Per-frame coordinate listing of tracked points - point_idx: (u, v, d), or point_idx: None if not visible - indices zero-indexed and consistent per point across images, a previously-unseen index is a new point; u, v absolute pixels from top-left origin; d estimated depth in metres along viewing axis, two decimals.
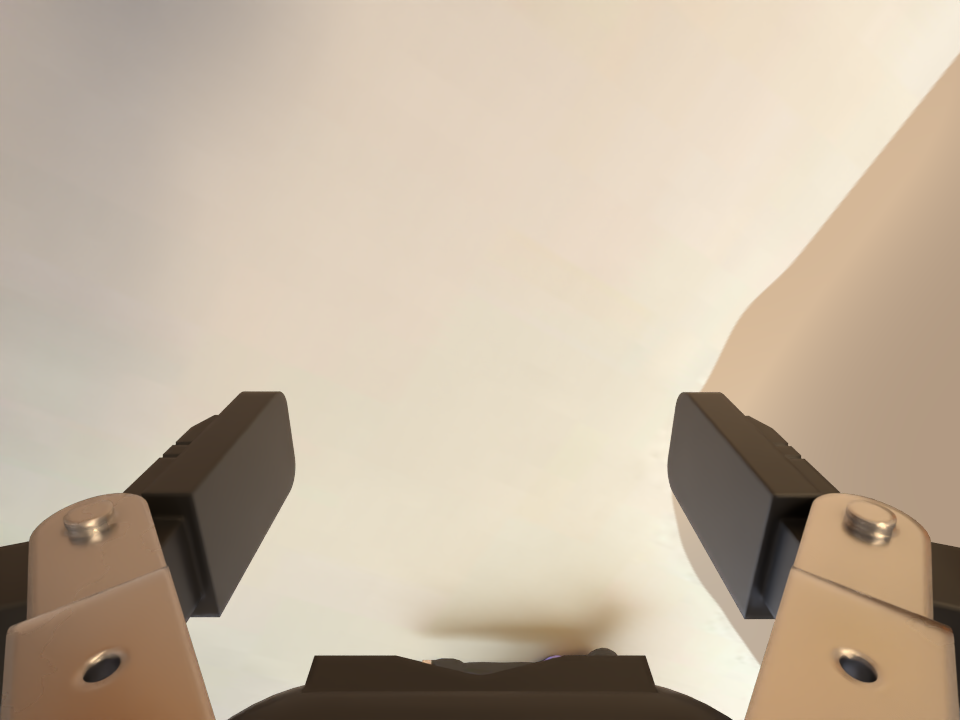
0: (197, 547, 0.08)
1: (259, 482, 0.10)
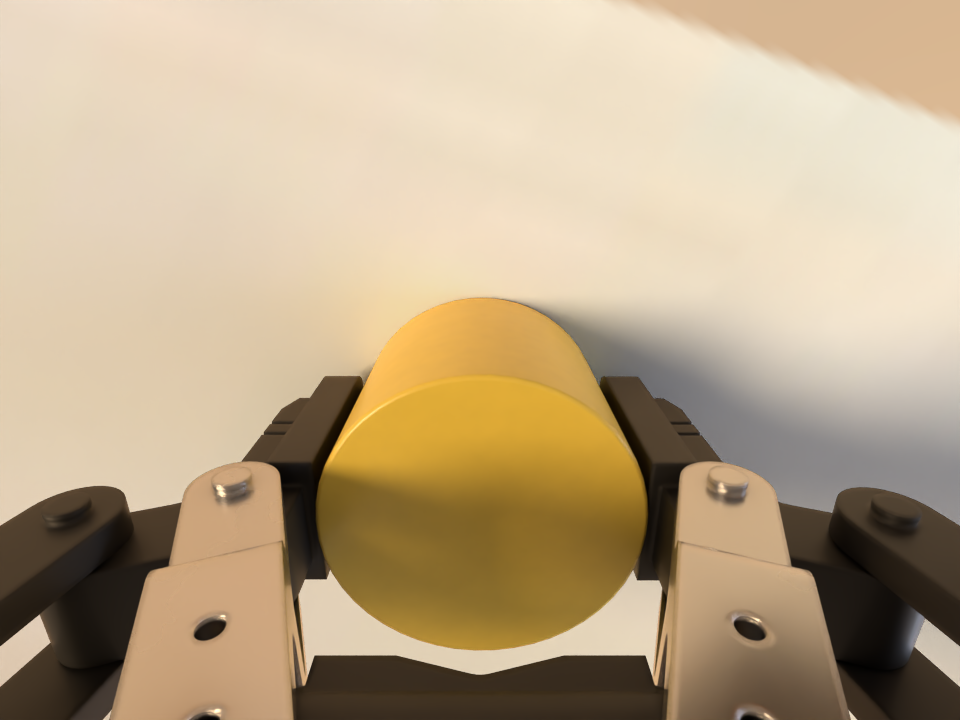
0: (311, 513, 0.08)
1: None
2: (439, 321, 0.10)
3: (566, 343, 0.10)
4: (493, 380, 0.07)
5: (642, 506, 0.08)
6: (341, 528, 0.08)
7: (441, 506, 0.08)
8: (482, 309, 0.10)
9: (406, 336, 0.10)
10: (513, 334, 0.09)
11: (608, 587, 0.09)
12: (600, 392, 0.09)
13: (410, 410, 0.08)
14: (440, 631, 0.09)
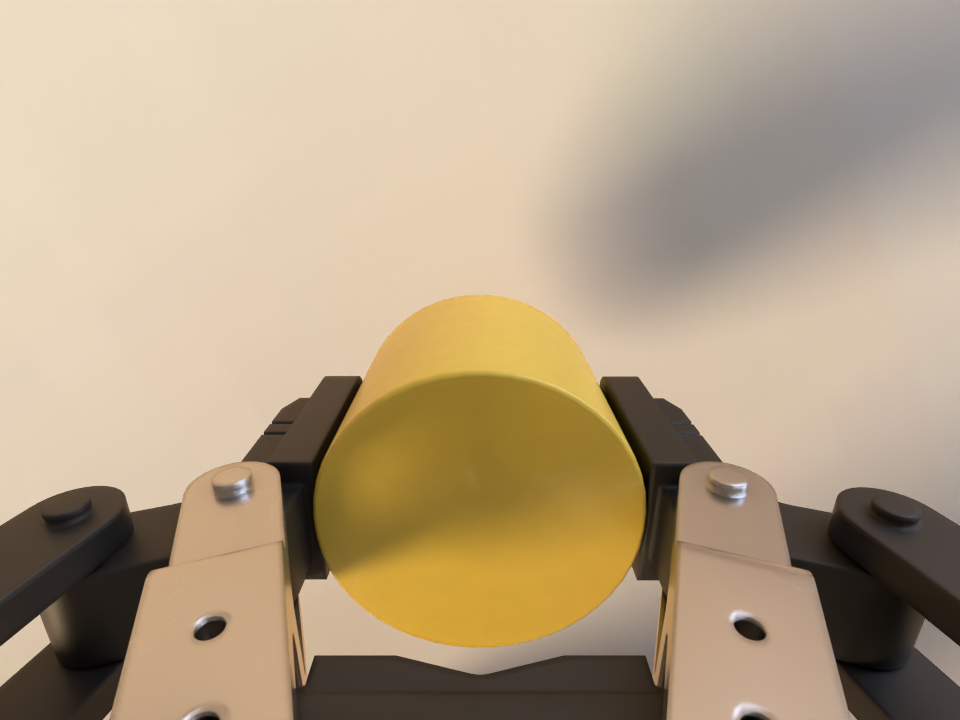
0: (311, 513, 0.08)
1: None
2: (437, 318, 0.10)
3: (564, 340, 0.10)
4: (490, 375, 0.07)
5: (640, 502, 0.08)
6: (339, 525, 0.08)
7: (439, 503, 0.08)
8: (480, 306, 0.10)
9: (404, 333, 0.10)
10: (511, 330, 0.09)
11: (607, 584, 0.09)
12: (598, 388, 0.09)
13: (407, 406, 0.08)
14: (437, 628, 0.09)
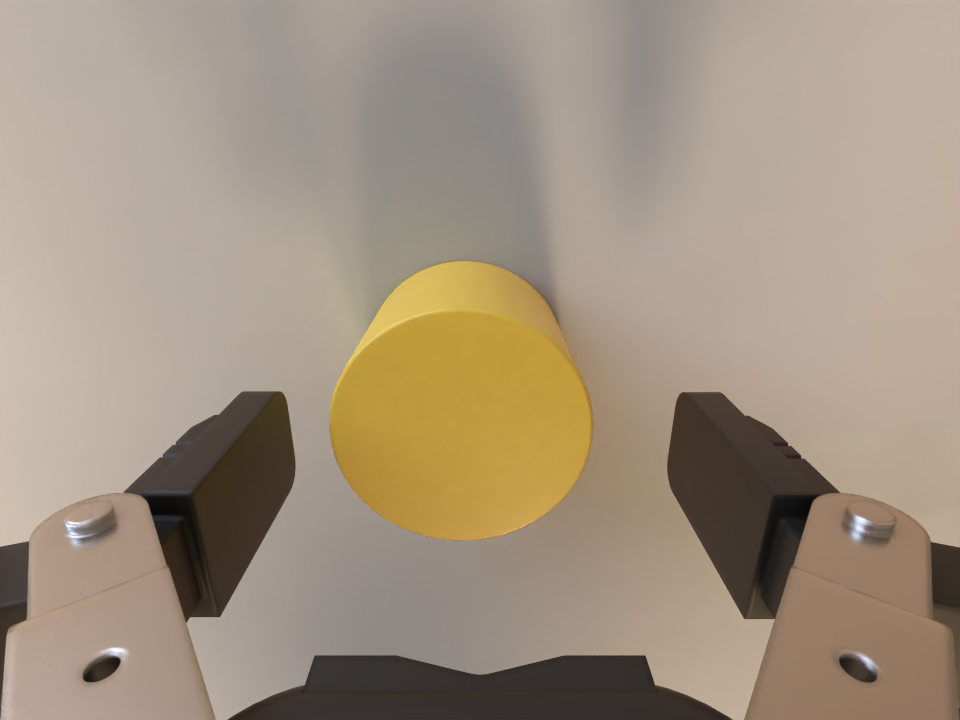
0: (197, 547, 0.08)
1: (259, 482, 0.10)
2: (428, 277, 0.12)
3: (533, 296, 0.13)
4: (467, 311, 0.10)
5: (587, 415, 0.10)
6: (350, 436, 0.10)
7: (428, 416, 0.10)
8: (463, 268, 0.13)
9: (401, 291, 0.12)
10: (487, 284, 0.11)
11: (563, 484, 0.11)
12: (558, 331, 0.11)
13: (403, 337, 0.10)
14: (429, 524, 0.11)
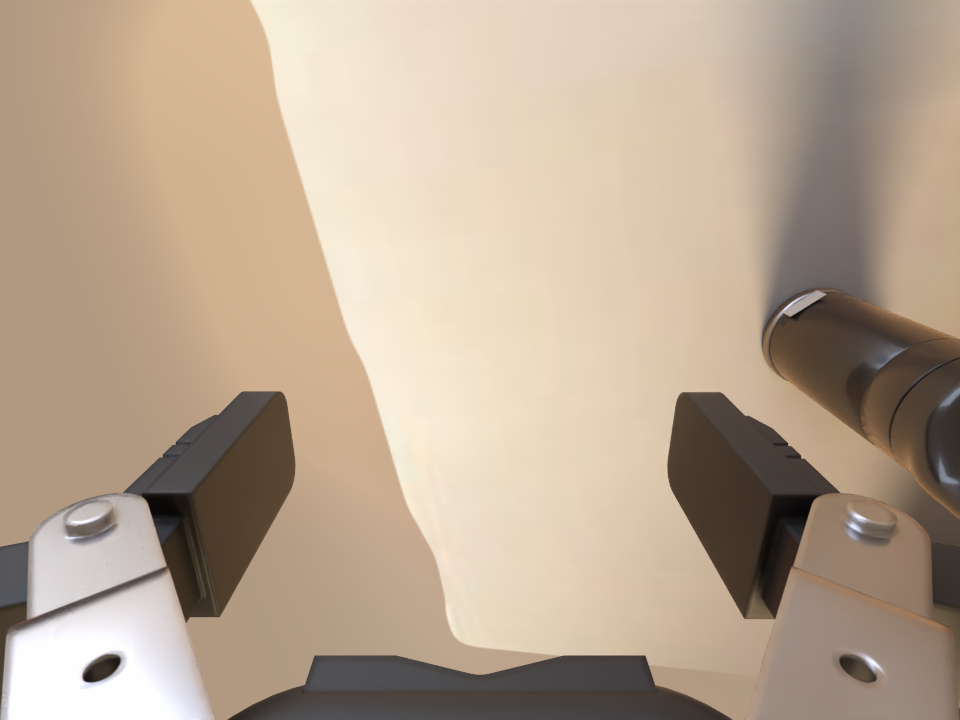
0: (197, 547, 0.08)
1: (259, 482, 0.10)
2: None
3: None
4: None
5: None
6: None
7: None
8: None
9: None
10: None
11: None
12: None
13: None
14: None
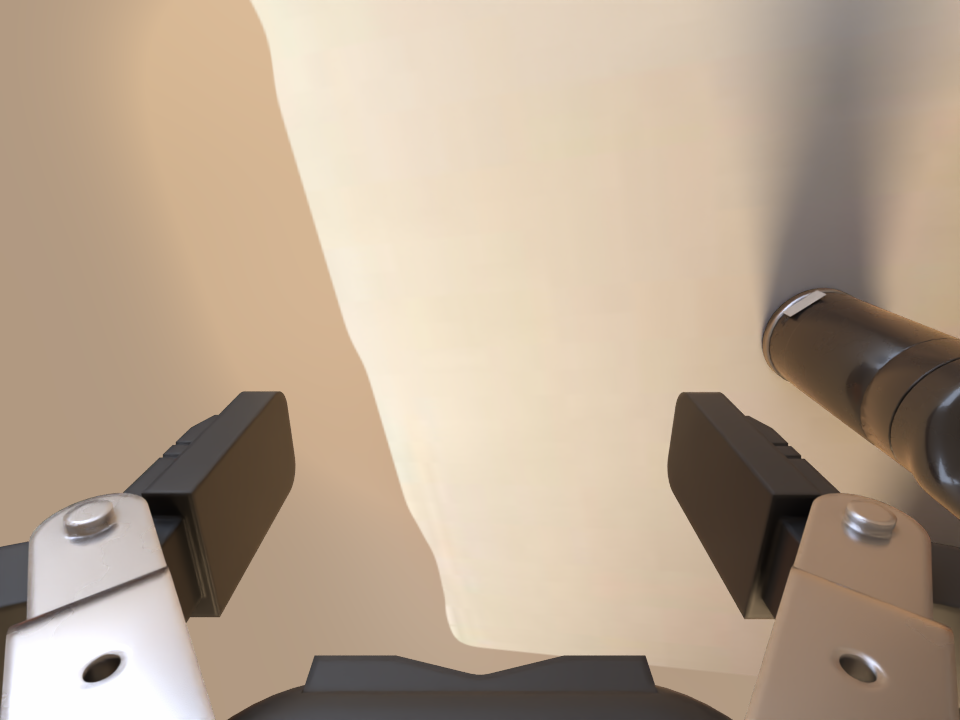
0: (197, 547, 0.08)
1: (259, 482, 0.10)
2: None
3: None
4: None
5: None
6: None
7: None
8: None
9: None
10: None
11: None
12: None
13: None
14: None
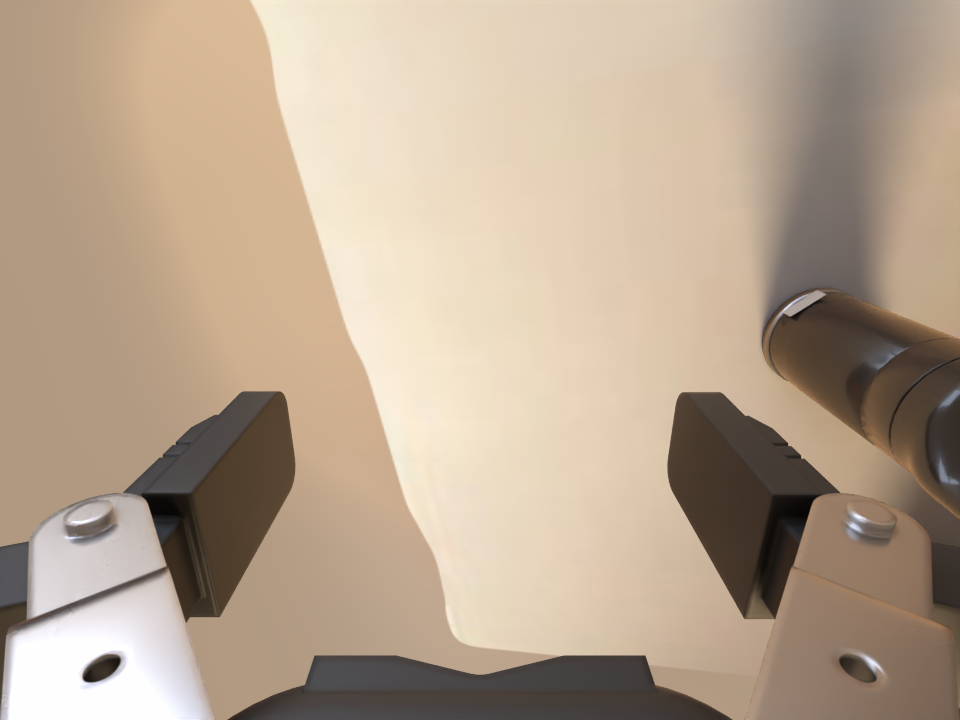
0: (197, 547, 0.08)
1: (259, 482, 0.10)
2: None
3: None
4: None
5: None
6: None
7: None
8: None
9: None
10: None
11: None
12: None
13: None
14: None
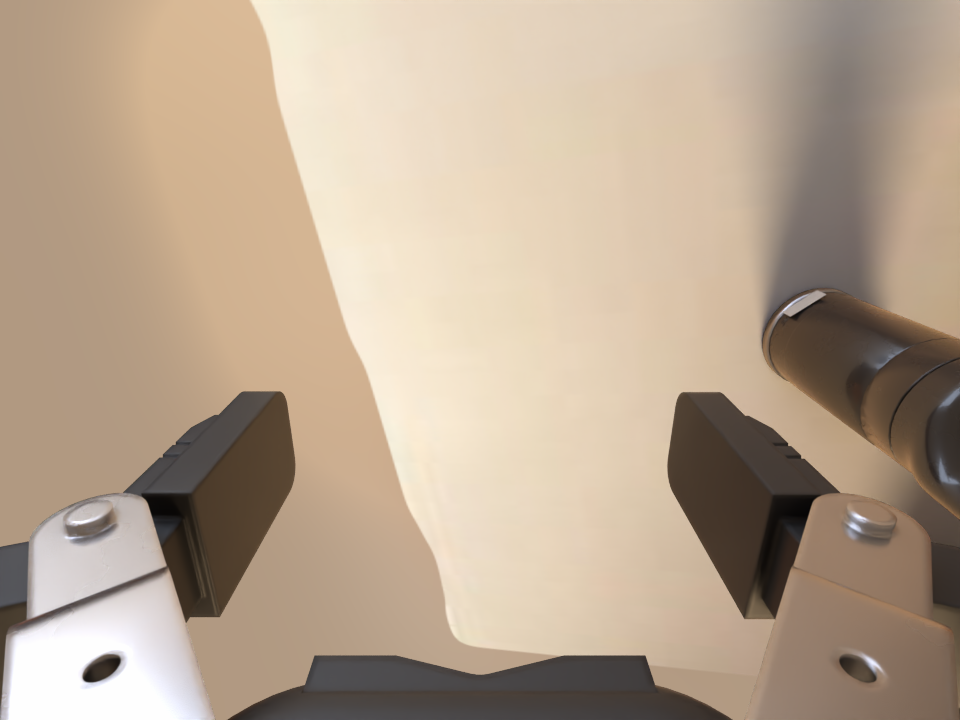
0: (197, 547, 0.08)
1: (259, 482, 0.10)
2: None
3: None
4: None
5: None
6: None
7: None
8: None
9: None
10: None
11: None
12: None
13: None
14: None
